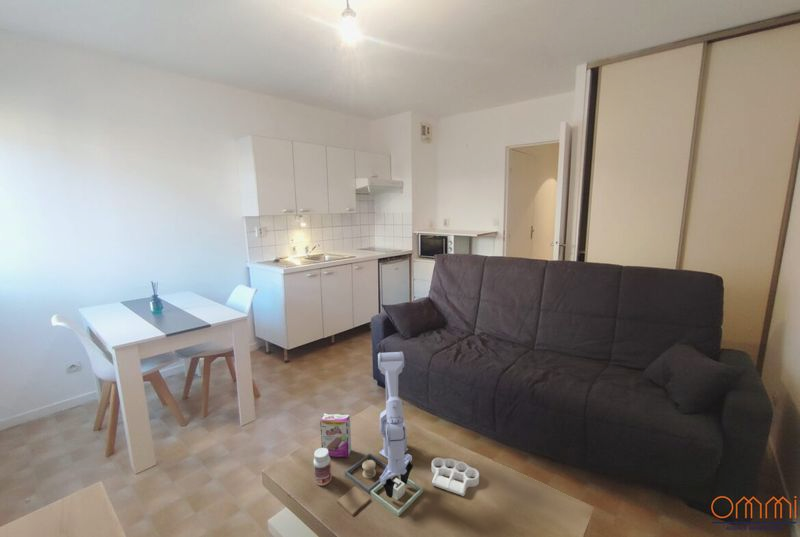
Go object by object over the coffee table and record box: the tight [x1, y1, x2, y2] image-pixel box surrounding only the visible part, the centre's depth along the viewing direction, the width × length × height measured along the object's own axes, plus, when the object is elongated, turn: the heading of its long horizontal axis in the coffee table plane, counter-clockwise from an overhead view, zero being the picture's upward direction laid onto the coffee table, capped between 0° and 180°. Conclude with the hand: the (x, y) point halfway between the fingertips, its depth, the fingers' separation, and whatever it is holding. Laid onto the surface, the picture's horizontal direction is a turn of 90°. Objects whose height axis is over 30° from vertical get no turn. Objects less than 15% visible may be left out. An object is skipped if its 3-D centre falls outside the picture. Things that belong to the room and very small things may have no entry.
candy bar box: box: [319, 413, 352, 458], centre depth 141 cm, size 11×5×16 cm, turn 85°
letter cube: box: [392, 477, 406, 501], centre depth 122 cm, size 4×4×4 cm
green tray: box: [369, 474, 424, 517], centre depth 122 cm, size 13×13×2 cm
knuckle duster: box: [430, 457, 480, 497], centre depth 129 cm, size 3×18×15 cm
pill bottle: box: [313, 447, 333, 486], centre depth 128 cm, size 6×6×11 cm
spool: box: [361, 459, 377, 480], centre depth 131 cm, size 5×5×4 cm
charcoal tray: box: [344, 452, 388, 495], centre depth 131 cm, size 13×13×2 cm
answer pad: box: [336, 486, 371, 516], centre depth 119 cm, size 8×8×1 cm
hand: (396, 489), depth 122 cm, fingers open, 7 cm apart
